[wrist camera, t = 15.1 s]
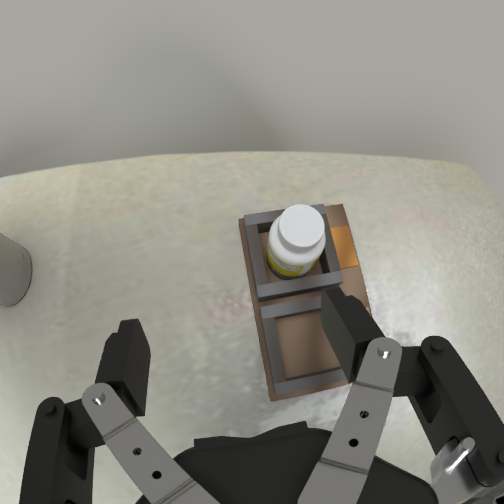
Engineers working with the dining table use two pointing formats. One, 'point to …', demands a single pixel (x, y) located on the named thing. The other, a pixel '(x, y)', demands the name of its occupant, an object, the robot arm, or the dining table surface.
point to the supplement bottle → (295, 242)
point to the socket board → (300, 305)
